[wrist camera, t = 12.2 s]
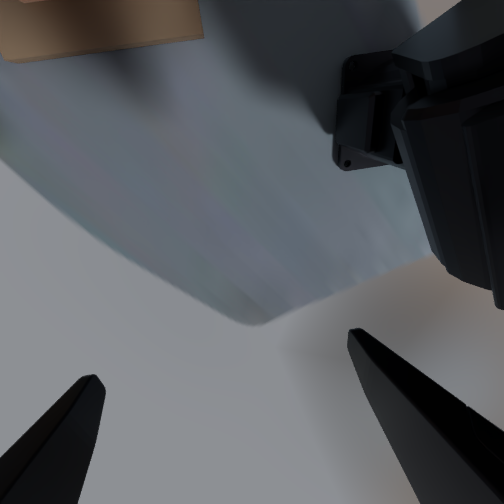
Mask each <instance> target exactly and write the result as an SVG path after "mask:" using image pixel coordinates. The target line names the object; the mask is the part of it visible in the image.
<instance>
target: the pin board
mask: <svg viewBox="0 0 504 504" xmlns="http://www.w3.org/2000/svg"><path fill="white" fill-rule="evenodd" d="M201 38H204V34H203V28H202V22H201V16H200V10H199V4H198V0H44V1H37V2H30V3H23V2H21V1H19V0H0V52H1V54H2V56H3V58H4V60H5V61H9V62H14V63H26V62H33V61H40V60H48V59H55V58H62V57H70V56H77V55H84V54H92V53H99V52H106V51H114V50H121V49H128V48H136V47H143V46H150V45H158V44H165V43H172V42H180V41H187V40H194V39H201Z"/></svg>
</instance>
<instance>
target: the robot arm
mask: <svg viewBox="0 0 504 504" xmlns="http://www.w3.org/2000/svg"><path fill="white" fill-rule="evenodd" d="M351 62H353V63H354V65H355V67H354V70H353V71H351V70H350V69H349V65H350V63H351ZM336 142H337V143H338V144H339V153H338V166H339V168H340V169H342V170H343V171H351V170H357V169H364V168H370V167H377V166H383V165H392V166H395V167H398V168H401V169H404V170H406V173H407V176H408V179H409V182H410V185H411V188H412V191H413V195H414V198H415V201H416V204H417V207H418V210H419V213H420V216H421V219H422V222H423V225H424V228H425V232H426V235H427V238H428V241H429V244H430V247H431V250H432V252H433V253H434V254H435V256H436V257H437V258H438V260H439V261H440V262H441V264H443V265H444V266H445V267H446V270H447V272H448V273H449V274H451V275H453V276H454V277H457V278H458V279H460V280H462V281H463V282H466V283H469V284H472V285H475V286H478V287H481V288H484V289H487V290H492V292H493V297H494V302H495V306H496V307H497V308H498V309H501V310H504V0H461V1H460V2H459V3H457V4H456V5H455V6H453V7H452V8H450V9H449V10H448V11H446V12H445V13H443V14H442V15H441V16H440V17H438V18H437V19H435V20H434V21H432V22H431V23H430V24H428V25H427V26H426V27H424V28H423V29H422V30H420V31H419V32H417V33H416V34H415V35H413V36H412V37H411V38H409V39H408V40H406V41H405V42H404V43H402V44H401V45H400V46H398V47H397V48H395V49H394V50H388V51H381V52H374V53H367V54H360V55H354V56H351V57H348V58H347V59H346V60H345V61H344V63H343V67H342V84H341V96H340V97H339V98H338V100H337V120H336ZM346 160H348V161H349V162H348V165H347V166H344V162H345V161H346ZM347 348H348V351H349V354H350V356H351V359H352V362H353V364H354V367H355V370H356V372H357V375H358V377H359V380H360V383H361V385H362V388H363V390H364V393H365V395H366V397H367V399H368V401H369V403H370V405H371V407H372V409H373V411H374V413H375V415H376V417H377V419H378V421H379V423H380V425H381V427H382V429H383V431H384V433H385V435H386V437H387V439H388V441H389V443H390V445H391V446H392V449H393V451H394V453H395V454H396V457H397V458H398V460H399V462H400V464H401V466H402V468H403V470H404V472H405V474H406V476H407V478H408V480H409V482H410V484H411V486H412V488H413V490H414V492H415V494H416V496H417V498H418V500H419V502H420V504H504V431H503V430H501V429H500V428H498V427H497V426H496V425H494V424H493V423H491V422H490V421H489V420H487V419H486V418H484V417H483V416H481V415H480V414H479V413H477V412H476V411H475V410H473V409H472V408H470V407H469V406H466V404H465V403H463V402H462V401H461V400H459V399H458V398H457V397H455V396H454V395H452V394H451V393H450V392H448V391H447V390H446V389H444V388H443V387H441V386H440V385H439V384H437V383H436V382H435V381H433V380H432V379H430V378H429V377H428V376H426V375H425V374H424V373H422V372H421V371H419V370H418V369H417V368H415V367H414V366H413V365H411V364H410V363H408V362H407V361H406V360H404V359H403V358H402V357H400V356H399V355H397V354H396V353H394V352H393V351H392V350H390V349H389V348H388V347H386V346H385V345H384V344H382V343H381V342H380V341H378V340H377V339H376V338H374V337H373V336H371V335H370V334H369V333H367V332H366V331H365V330H363V329H361V328H355V329H350V330H349V332H348V341H347ZM105 395H106V390H105V387H104V385H103V384H102V382H101V381H100V379H99V378H98V377H97V375H95V374H92V375H86V376H82V377H81V378H80V379H78V380H77V381H76V382H75V383H74V384H73V386H71V387H70V389H68V390H67V392H66V393H64V395H62V396H61V398H60V399H58V400H57V401H56V402H55V404H54V405H52V406H51V407H50V408H49V410H47V411H46V412H45V413H44V414H43V415H42V416H41V417H40V418H39V419H38V420H37V421H36V422H35V424H34V425H32V426H31V427H30V428H29V429H28V430H27V431H26V432H25V433H24V434H23V435H22V436H21V437H20V438H19V439H18V440H17V441H16V442H15V443H14V444H13V445H12V446H11V447H10V448H9V449H8V450H7V451H6V452H5V453H4V454H3V455H2V456H1V457H0V504H78V500H79V497H80V494H81V491H82V487H83V484H84V481H85V477H86V474H87V470H88V467H89V464H90V461H91V457H92V454H93V451H94V447H95V443H96V439H97V435H98V430H99V425H100V420H101V415H102V410H103V405H104V400H105Z"/></svg>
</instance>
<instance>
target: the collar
mask: <svg viewBox="0 0 504 504" xmlns="http://www.w3.org/2000/svg"><path fill="white" fill-rule="evenodd" d="M19 1H21V2H23V3H30V2H37V1H44V0H19Z"/></svg>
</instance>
